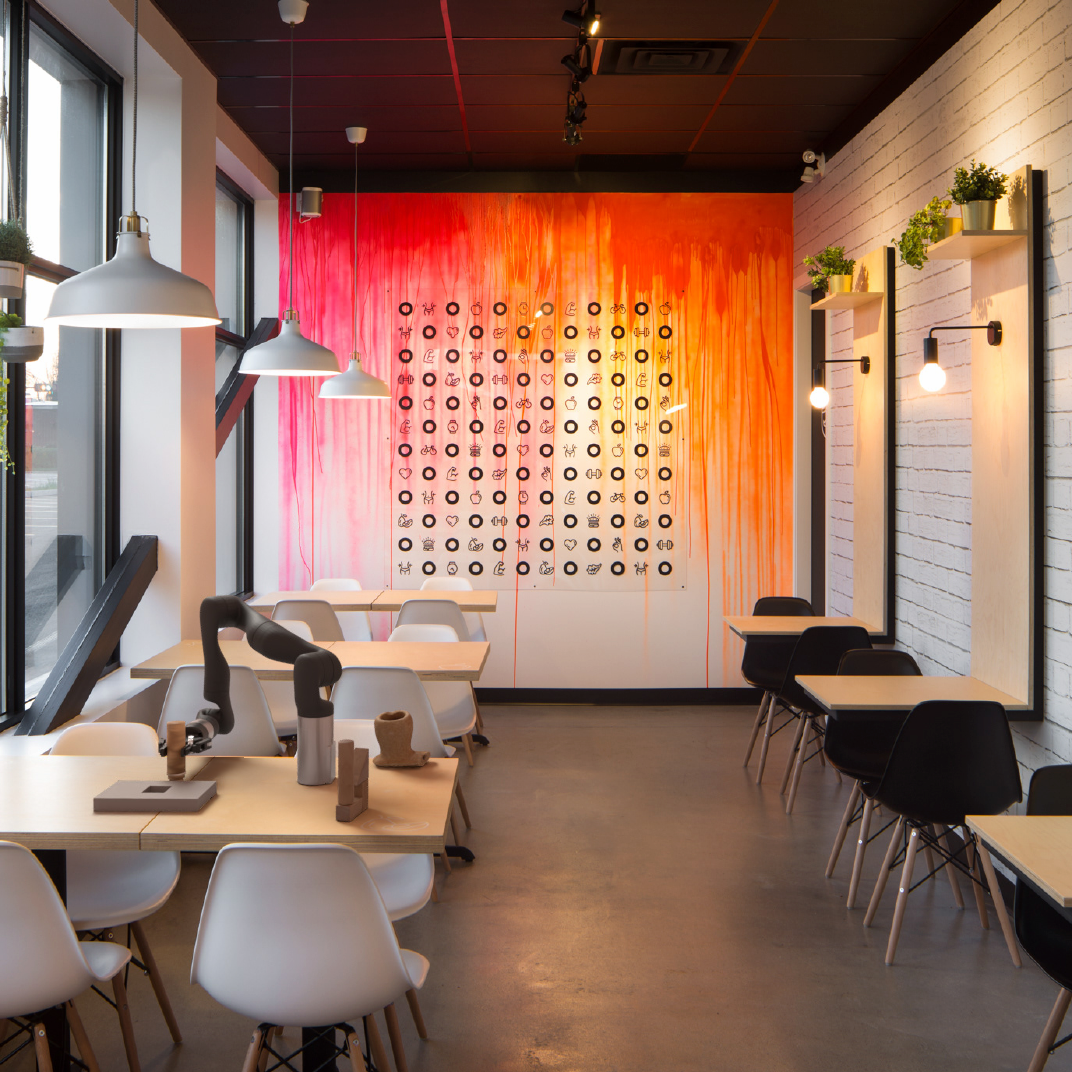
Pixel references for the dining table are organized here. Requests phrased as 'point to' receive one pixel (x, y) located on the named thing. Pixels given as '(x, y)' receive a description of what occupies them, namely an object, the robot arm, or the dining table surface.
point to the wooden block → (352, 780)
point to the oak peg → (175, 750)
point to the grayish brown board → (155, 796)
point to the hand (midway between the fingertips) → (172, 752)
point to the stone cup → (397, 740)
